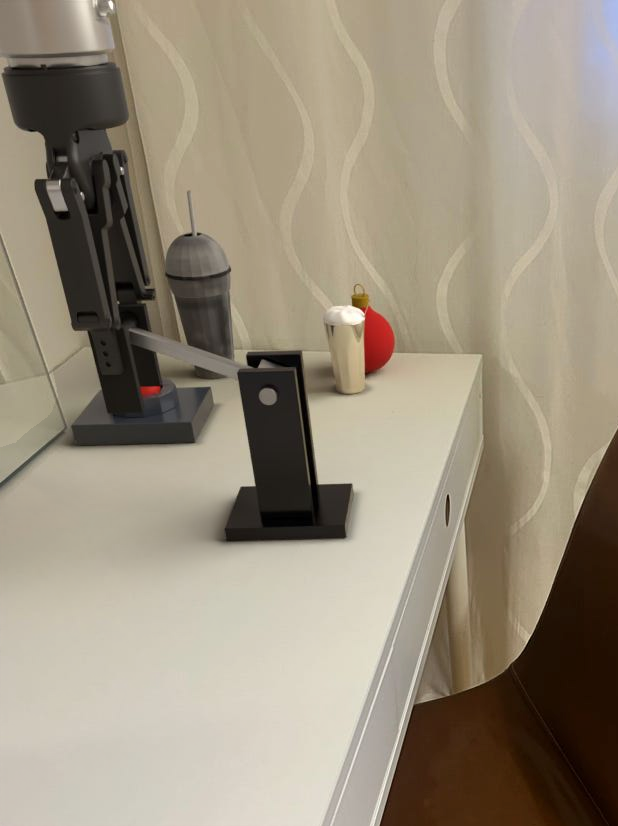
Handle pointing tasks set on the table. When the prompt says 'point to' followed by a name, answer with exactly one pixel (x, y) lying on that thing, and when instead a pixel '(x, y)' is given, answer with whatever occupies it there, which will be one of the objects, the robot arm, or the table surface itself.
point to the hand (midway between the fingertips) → (135, 397)
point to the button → (149, 390)
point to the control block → (147, 418)
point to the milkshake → (346, 346)
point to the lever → (182, 349)
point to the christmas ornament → (374, 334)
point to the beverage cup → (201, 292)
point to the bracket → (283, 459)
